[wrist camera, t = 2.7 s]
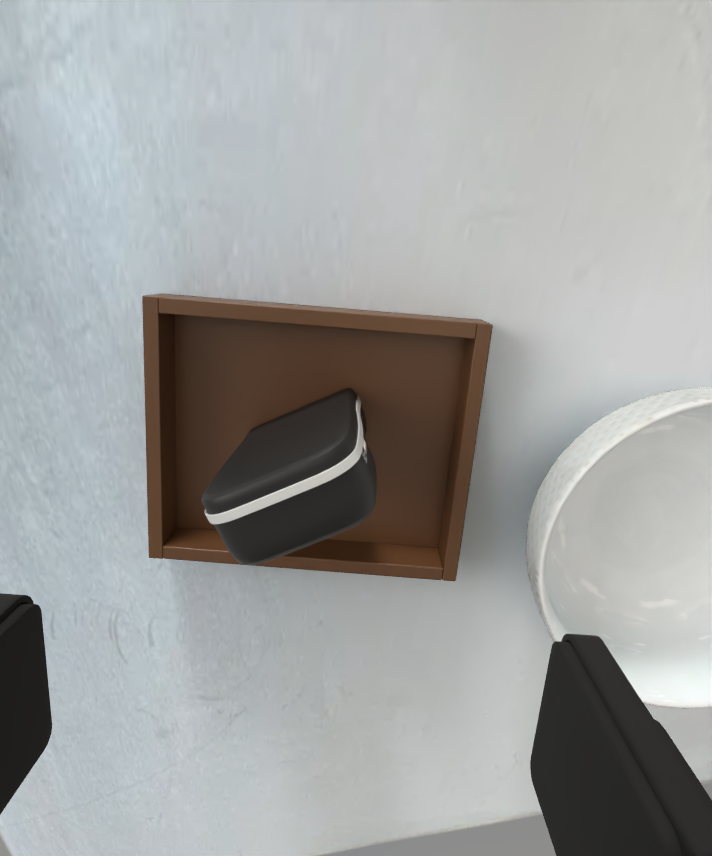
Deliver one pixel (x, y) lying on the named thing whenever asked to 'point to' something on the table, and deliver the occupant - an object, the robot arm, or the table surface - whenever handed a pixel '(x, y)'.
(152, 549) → the tray
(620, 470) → the cereal bowl
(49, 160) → the table surface
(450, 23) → the table surface
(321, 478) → the battery charger
